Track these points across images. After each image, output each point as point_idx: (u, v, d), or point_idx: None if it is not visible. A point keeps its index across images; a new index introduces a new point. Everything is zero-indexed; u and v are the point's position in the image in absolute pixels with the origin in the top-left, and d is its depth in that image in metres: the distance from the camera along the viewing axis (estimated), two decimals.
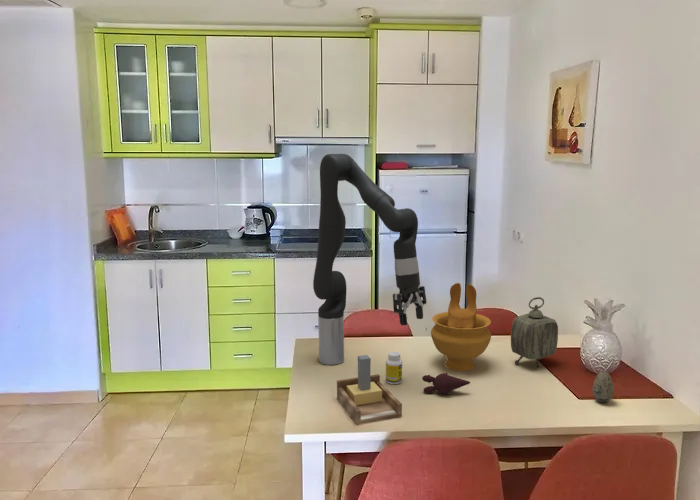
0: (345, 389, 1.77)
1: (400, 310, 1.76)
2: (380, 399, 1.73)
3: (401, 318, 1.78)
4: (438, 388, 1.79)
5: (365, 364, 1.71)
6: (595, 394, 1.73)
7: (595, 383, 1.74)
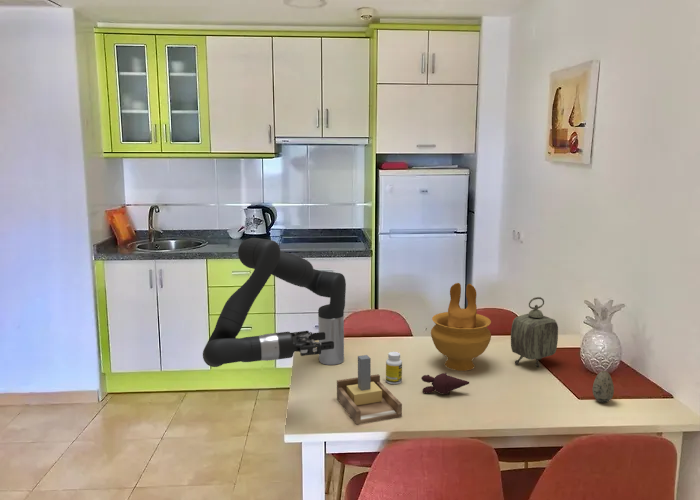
0: (345, 389, 1.77)
1: None
2: (380, 399, 1.73)
3: None
4: (437, 388, 1.79)
5: (365, 364, 1.71)
6: (595, 394, 1.73)
7: (595, 383, 1.74)
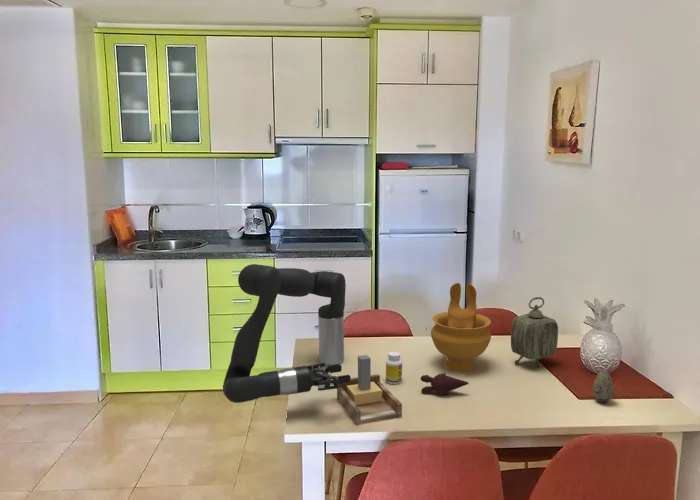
0: (345, 389, 1.77)
1: None
2: (380, 399, 1.73)
3: None
4: (436, 388, 1.79)
5: (365, 364, 1.71)
6: (595, 394, 1.73)
7: (595, 383, 1.74)
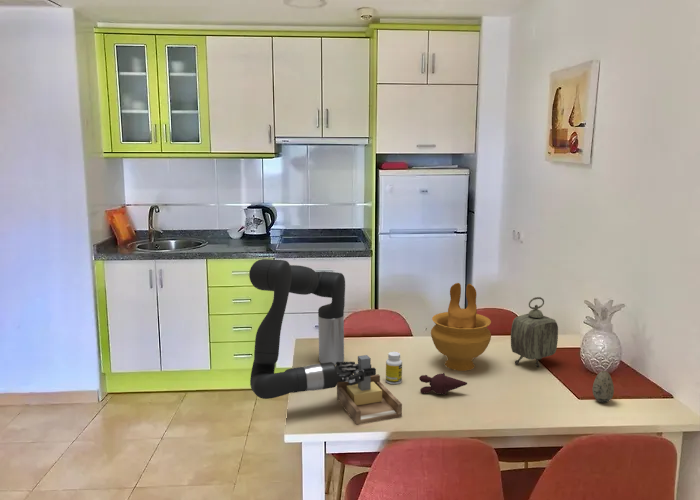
0: (345, 389, 1.77)
1: None
2: (380, 399, 1.73)
3: None
4: (435, 388, 1.79)
5: (365, 364, 1.71)
6: (595, 394, 1.73)
7: (595, 383, 1.74)
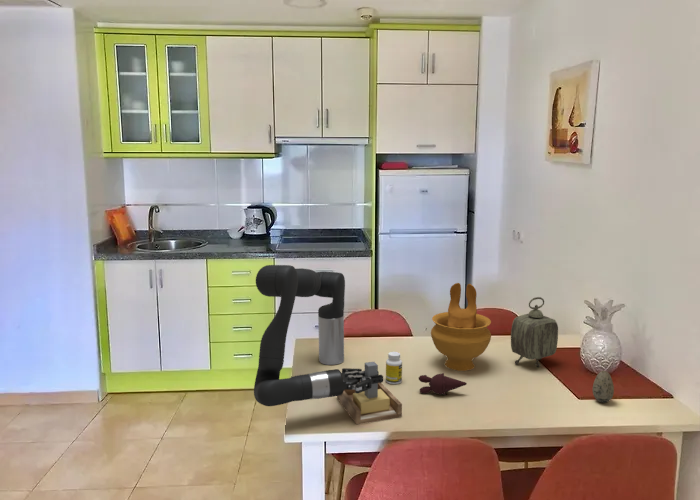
0: None
1: None
2: (388, 407, 1.68)
3: None
4: (434, 388, 1.79)
5: (372, 371, 1.66)
6: (595, 394, 1.73)
7: (595, 383, 1.74)
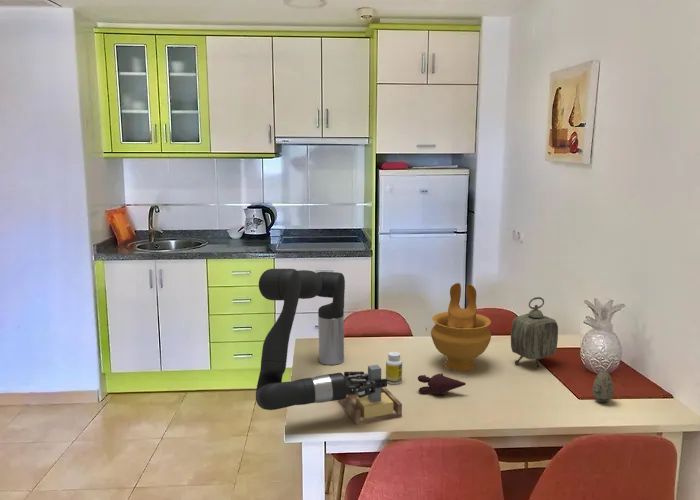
0: None
1: None
2: (391, 411, 1.65)
3: None
4: (433, 388, 1.79)
5: (376, 375, 1.64)
6: (595, 394, 1.73)
7: (595, 383, 1.74)
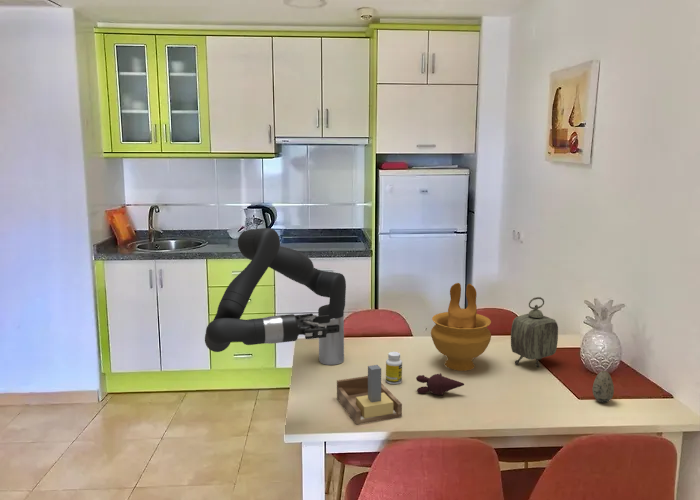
0: (345, 389, 1.77)
1: None
2: (391, 411, 1.65)
3: None
4: (431, 389, 1.79)
5: (376, 375, 1.64)
6: (595, 394, 1.73)
7: (595, 383, 1.74)
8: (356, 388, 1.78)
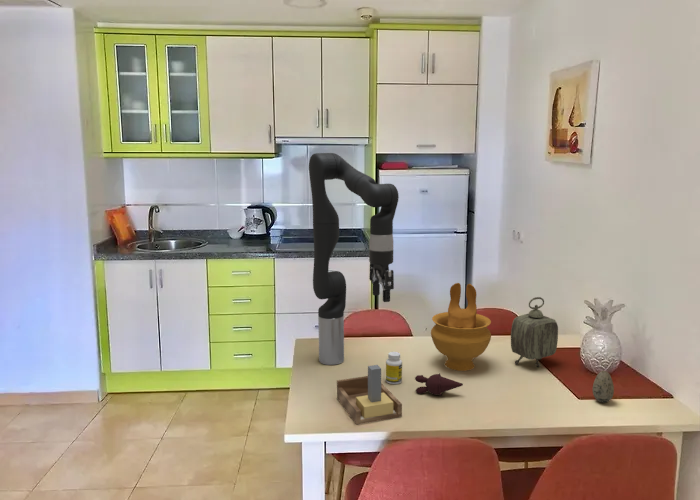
0: (345, 389, 1.77)
1: (369, 277, 1.85)
2: (391, 411, 1.65)
3: None
4: (430, 389, 1.78)
5: (376, 375, 1.64)
6: (595, 394, 1.73)
7: (595, 383, 1.74)
8: (356, 388, 1.78)
